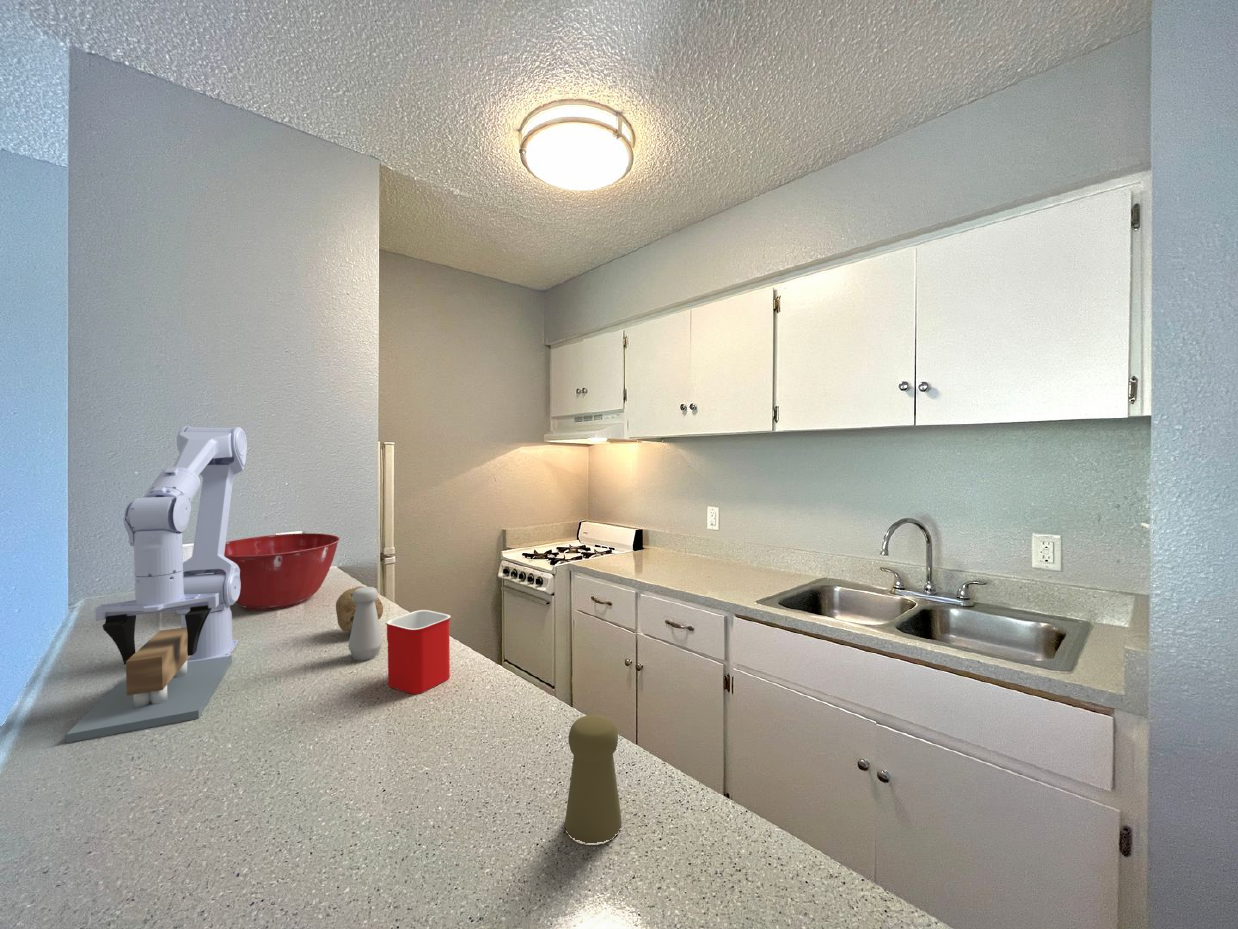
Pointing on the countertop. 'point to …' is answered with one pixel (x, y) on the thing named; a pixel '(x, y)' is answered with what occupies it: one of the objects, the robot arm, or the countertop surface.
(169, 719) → the peg rack
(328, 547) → the mixing bowl
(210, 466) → the robot arm
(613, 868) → the countertop surface
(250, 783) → the countertop surface
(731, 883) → the countertop surface
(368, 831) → the countertop surface
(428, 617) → the red rectangular container
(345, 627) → the natural sponge
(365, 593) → the salt shaker
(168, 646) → the wooden block
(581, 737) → the olive pawn
